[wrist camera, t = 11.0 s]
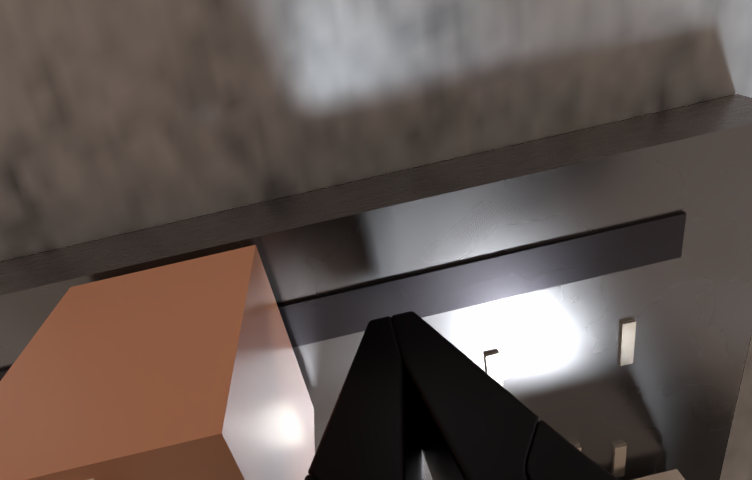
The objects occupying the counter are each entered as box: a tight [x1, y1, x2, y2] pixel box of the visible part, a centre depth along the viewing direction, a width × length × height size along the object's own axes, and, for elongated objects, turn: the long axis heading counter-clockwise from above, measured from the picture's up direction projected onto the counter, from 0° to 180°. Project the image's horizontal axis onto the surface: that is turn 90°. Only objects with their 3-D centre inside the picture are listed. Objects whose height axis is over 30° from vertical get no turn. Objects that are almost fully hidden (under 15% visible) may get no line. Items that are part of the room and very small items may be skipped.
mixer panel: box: [0, 94, 752, 480], centre depth 13 cm, size 18×13×2 cm
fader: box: [0, 245, 315, 480], centre depth 8 cm, size 3×4×4 cm
